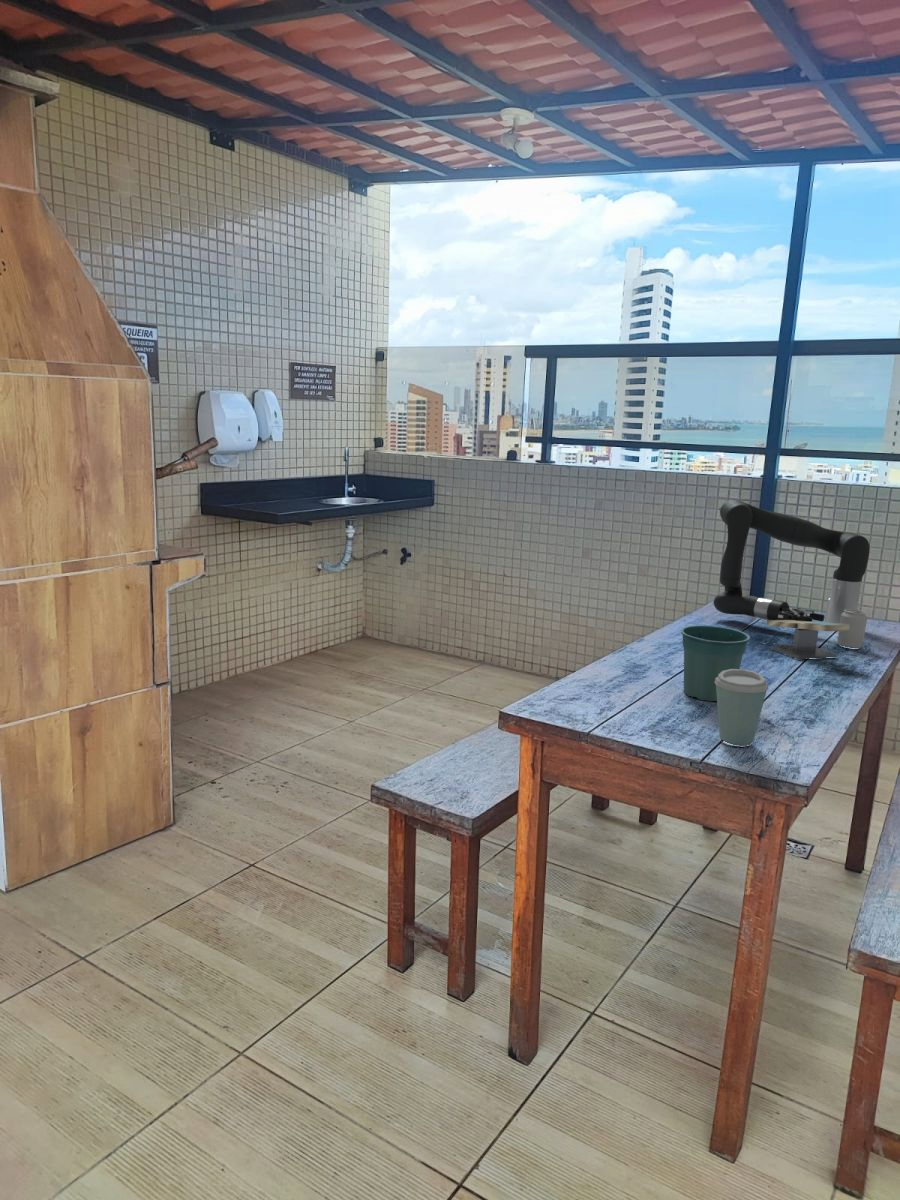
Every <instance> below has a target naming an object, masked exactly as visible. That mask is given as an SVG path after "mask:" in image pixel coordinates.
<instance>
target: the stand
mask: <svg viewBox="0 0 900 1200" xmlns="http://www.w3.org/2000/svg"><path fill="white" fill-rule="evenodd" d="M818 636H819V630H808V629H798V628H794V633H793V639H792V641H793V642H792V644H790V645H789V644H787V645H784V644H783V645H771V649H773V650H775V651H774V652H776V651H778V652H781V653H783V654H786V655H788V656H791V657H794V658H796V659H806V658H807V659H808V658H826V657H838V656H837V655H838V654H836V653H833V652H831V651H829V650H826V649H824V648H823V649H822V648H820V647H817V644H818ZM773 650H772V651H773ZM778 652H777V653H778ZM781 653H780V654H781ZM783 654H782V655H783ZM786 655H785V656H786ZM788 656H787V657H788ZM791 657H790V658H791ZM794 658H793V659H794ZM796 659H795V660H796Z"/></svg>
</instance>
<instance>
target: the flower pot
mask: <svg viewBox="0 0 900 1200" xmlns="http://www.w3.org/2000/svg"><path fill="white" fill-rule="evenodd" d="M680 633H681V634H682V648H683V693H684V694H685V693H686V694H687V695H686V694H685V695H686V696H688V697H690V696H691V697H690V698H697V700H699V699H701V700H700V701H703V700H708V701H717V692H716V684H715V678H716V677H718V674H719V673H721V672H722V671H724V670H729V669H741V666H742V665H741V664H742V660H743V656H744V654H745V652H746V648H747V644H748V642H749V641H750V639H751V636H750V635H749V634H748V633H746V632H743V631H741V630H738V629H734V628H730V627H729V628H728V627H724V626H717V625H706V624H705V625H703V624H702V625H701V624H699V625H688V626H684V627H682V628H681V629H680ZM708 701H707V702H708Z"/></svg>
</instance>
